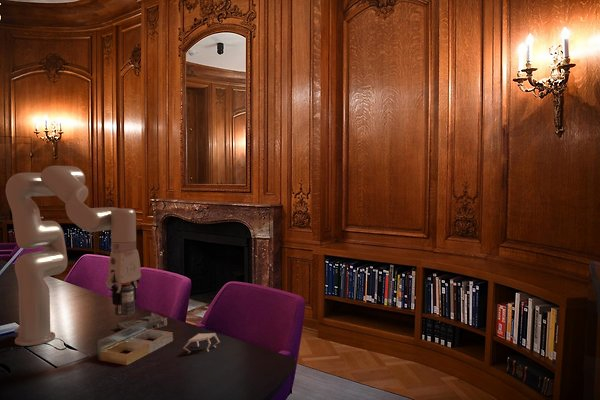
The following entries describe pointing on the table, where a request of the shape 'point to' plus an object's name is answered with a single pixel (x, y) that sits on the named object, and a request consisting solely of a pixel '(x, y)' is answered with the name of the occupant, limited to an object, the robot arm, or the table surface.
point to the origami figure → (202, 337)
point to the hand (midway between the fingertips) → (124, 301)
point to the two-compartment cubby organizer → (132, 344)
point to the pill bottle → (126, 301)
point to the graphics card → (150, 320)
